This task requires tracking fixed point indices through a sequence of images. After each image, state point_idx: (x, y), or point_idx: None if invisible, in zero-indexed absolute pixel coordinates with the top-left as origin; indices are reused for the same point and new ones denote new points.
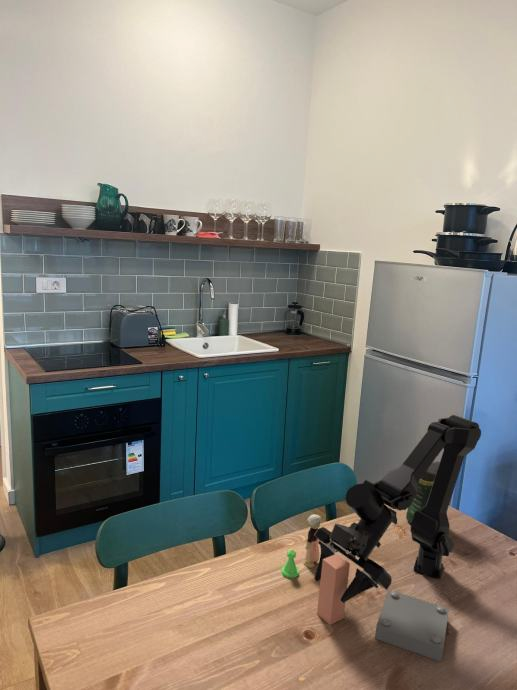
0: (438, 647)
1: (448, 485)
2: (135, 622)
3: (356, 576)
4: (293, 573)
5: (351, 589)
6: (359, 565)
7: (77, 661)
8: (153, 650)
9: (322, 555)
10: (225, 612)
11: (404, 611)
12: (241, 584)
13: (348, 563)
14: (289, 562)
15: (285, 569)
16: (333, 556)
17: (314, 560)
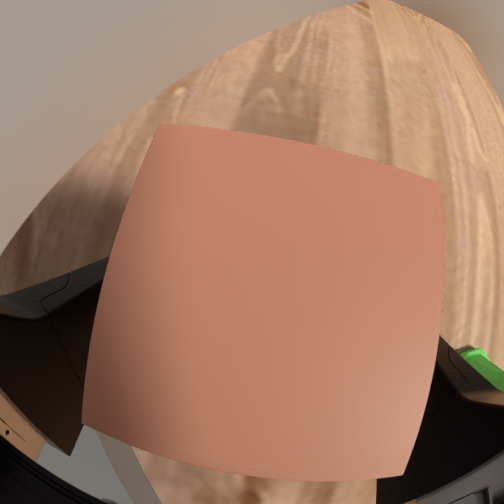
0: None
1: None
2: (443, 57)
3: (13, 311)
4: None
5: (78, 269)
6: (46, 475)
7: (402, 12)
8: (388, 32)
9: (478, 386)
10: (429, 125)
11: (54, 457)
12: (489, 222)
13: (93, 410)
14: (494, 369)
15: (482, 357)
16: (405, 385)
17: None
